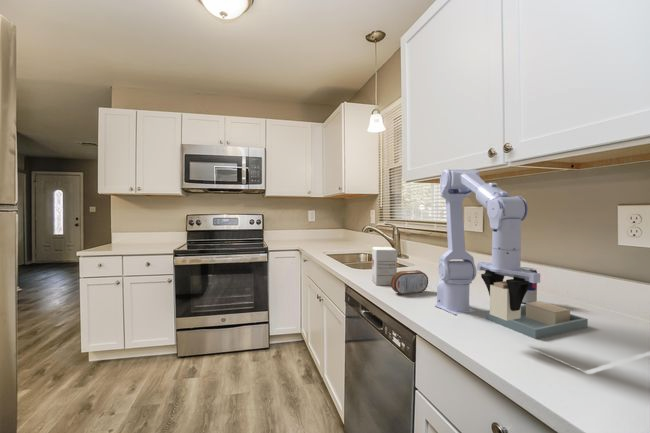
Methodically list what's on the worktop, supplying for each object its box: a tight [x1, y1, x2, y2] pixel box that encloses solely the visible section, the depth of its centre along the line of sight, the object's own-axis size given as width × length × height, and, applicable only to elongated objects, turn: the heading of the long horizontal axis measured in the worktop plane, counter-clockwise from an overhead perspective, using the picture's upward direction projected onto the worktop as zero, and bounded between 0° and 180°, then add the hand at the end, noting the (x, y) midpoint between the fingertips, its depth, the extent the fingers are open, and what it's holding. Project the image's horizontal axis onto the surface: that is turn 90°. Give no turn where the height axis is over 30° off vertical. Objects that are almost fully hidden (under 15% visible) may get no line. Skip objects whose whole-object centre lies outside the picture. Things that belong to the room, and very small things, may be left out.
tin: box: [390, 269, 429, 295], centre depth 113 cm, size 15×3×8 cm, turn 108°
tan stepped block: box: [526, 300, 571, 325], centre depth 84 cm, size 8×6×4 cm
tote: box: [485, 304, 589, 340], centre depth 82 cm, size 14×20×3 cm
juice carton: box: [489, 280, 521, 321], centre depth 70 cm, size 4×4×8 cm
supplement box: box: [371, 246, 398, 286], centre depth 129 cm, size 9×9×15 cm
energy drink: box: [520, 266, 538, 305], centre depth 100 cm, size 5×5×12 cm
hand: (505, 306), depth 70 cm, fingers closed on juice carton, 4 cm apart
